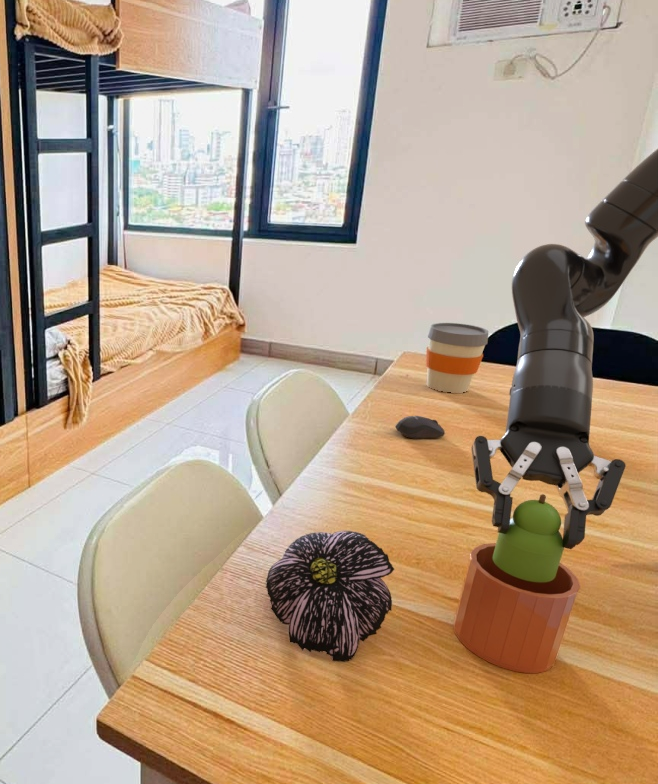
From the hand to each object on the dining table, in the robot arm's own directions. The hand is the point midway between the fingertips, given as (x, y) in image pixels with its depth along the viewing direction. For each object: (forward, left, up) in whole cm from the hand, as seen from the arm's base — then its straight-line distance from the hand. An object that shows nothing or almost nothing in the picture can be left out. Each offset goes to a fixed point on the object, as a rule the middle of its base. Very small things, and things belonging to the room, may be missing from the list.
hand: (535, 538), depth 66 cm
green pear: (+1, -2, -5) cm, 5 cm away
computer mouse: (+30, -58, -15) cm, 67 cm away
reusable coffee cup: (+36, -94, -15) cm, 101 cm away
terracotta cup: (+1, -2, -15) cm, 15 cm away
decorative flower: (+17, +10, -15) cm, 25 cm away
